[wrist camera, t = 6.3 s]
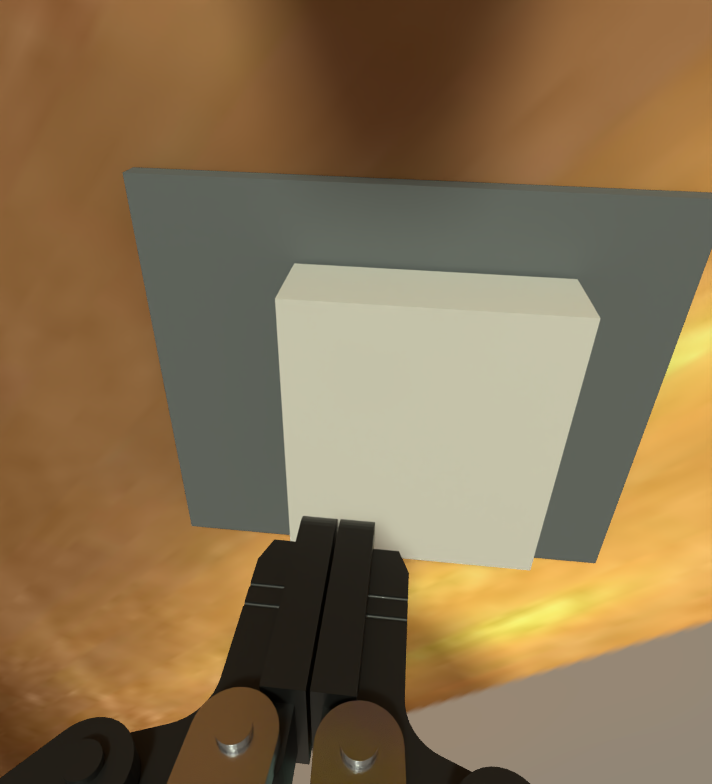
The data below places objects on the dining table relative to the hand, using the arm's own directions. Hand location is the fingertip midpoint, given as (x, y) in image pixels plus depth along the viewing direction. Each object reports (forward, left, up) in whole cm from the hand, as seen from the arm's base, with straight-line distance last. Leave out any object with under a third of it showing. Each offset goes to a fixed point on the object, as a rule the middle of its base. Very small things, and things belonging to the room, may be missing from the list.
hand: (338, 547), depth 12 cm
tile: (-2, 0, -4) cm, 5 cm away
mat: (+1, 0, -6) cm, 6 cm away
